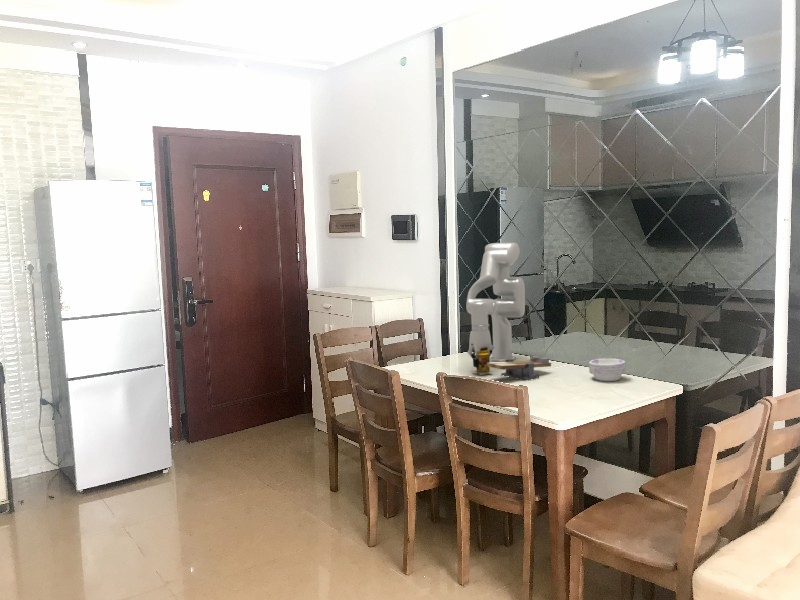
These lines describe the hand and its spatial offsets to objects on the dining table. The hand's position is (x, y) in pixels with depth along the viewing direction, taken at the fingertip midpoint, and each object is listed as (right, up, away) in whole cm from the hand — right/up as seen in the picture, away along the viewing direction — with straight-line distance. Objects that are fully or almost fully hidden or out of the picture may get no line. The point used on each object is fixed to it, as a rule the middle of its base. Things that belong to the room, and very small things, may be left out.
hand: (481, 365), depth 304 cm
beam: (+16, +1, -9) cm, 18 cm away
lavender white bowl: (+52, -4, -21) cm, 56 cm away
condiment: (0, -3, +1) cm, 3 cm away
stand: (+16, -4, -9) cm, 19 cm away
